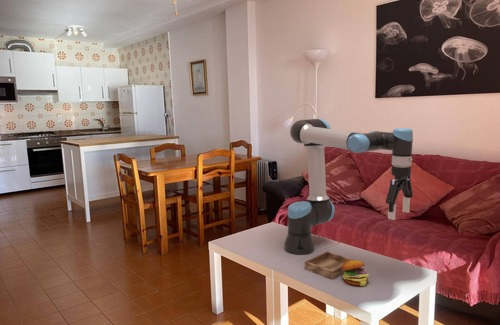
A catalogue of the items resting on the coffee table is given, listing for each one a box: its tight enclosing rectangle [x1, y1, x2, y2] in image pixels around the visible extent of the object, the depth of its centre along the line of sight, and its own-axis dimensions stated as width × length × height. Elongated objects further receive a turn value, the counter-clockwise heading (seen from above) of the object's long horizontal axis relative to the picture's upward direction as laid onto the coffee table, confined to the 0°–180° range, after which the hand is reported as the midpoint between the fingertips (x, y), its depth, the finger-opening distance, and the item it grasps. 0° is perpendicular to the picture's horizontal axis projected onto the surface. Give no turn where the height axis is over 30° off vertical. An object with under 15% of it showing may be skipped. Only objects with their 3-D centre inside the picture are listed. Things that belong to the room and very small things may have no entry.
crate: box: [304, 251, 353, 280], centre depth 169 cm, size 15×17×3 cm
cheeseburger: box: [342, 259, 370, 287], centre depth 157 cm, size 10×11×10 cm
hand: (398, 215), depth 160 cm, fingers open, 13 cm apart
